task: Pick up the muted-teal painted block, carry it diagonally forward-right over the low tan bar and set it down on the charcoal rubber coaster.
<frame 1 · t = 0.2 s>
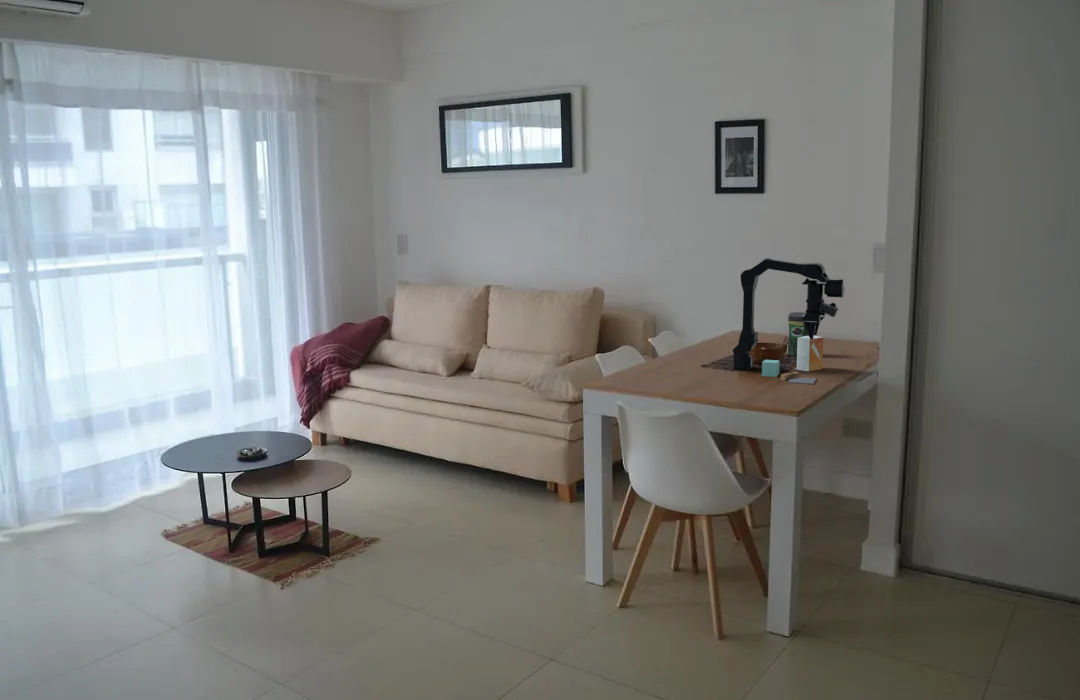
hand: (813, 337, 344), 14 cm above the table, fingers open, 9 cm apart
teal block: (770, 375, 344), on the table
coaster: (802, 381, 332), on the table
tan bar: (789, 378, 337), on the table
small box: (809, 370, 354), on the table
coffee jar: (798, 355, 384), on the table
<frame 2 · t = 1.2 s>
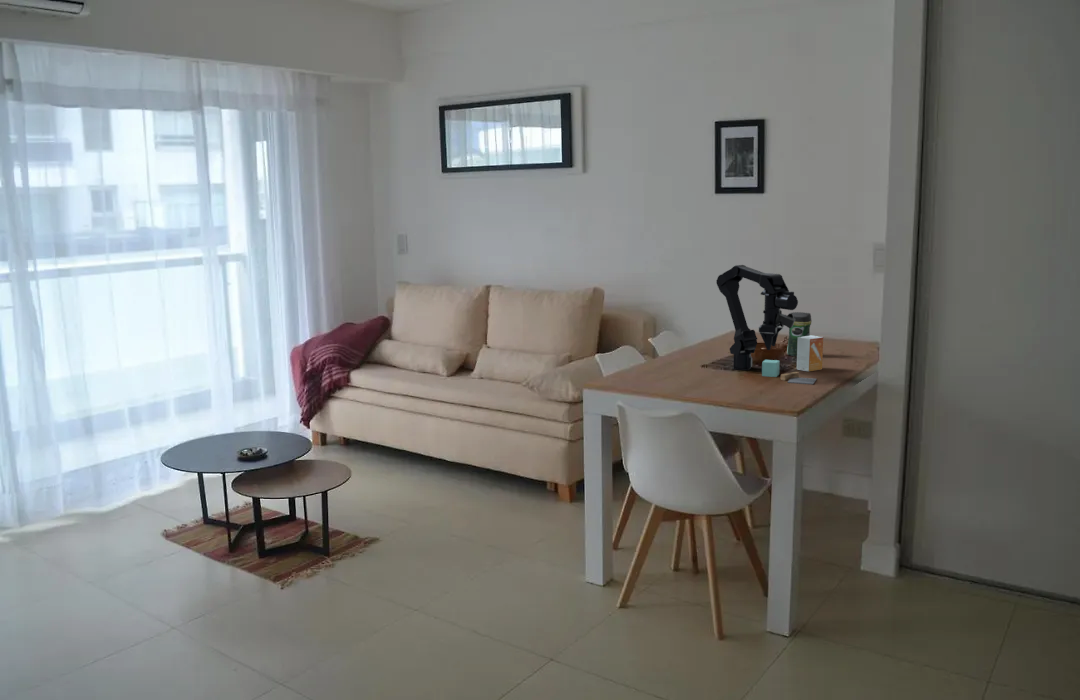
hand: (771, 348, 343), 11 cm above the table, fingers open, 9 cm apart
nothing on the table moved.
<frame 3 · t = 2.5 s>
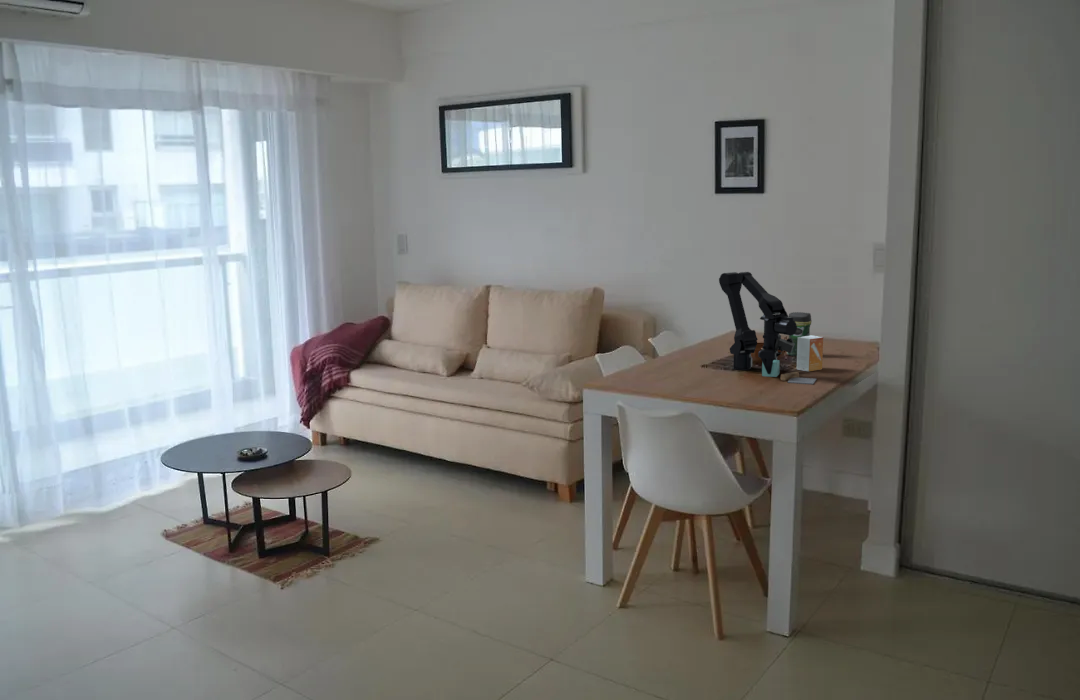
hand: (770, 372, 344), 1 cm above the table, fingers closed on teal block, 5 cm apart
teal block: (770, 375, 344), on the table, touching gripper
everything else where it was.
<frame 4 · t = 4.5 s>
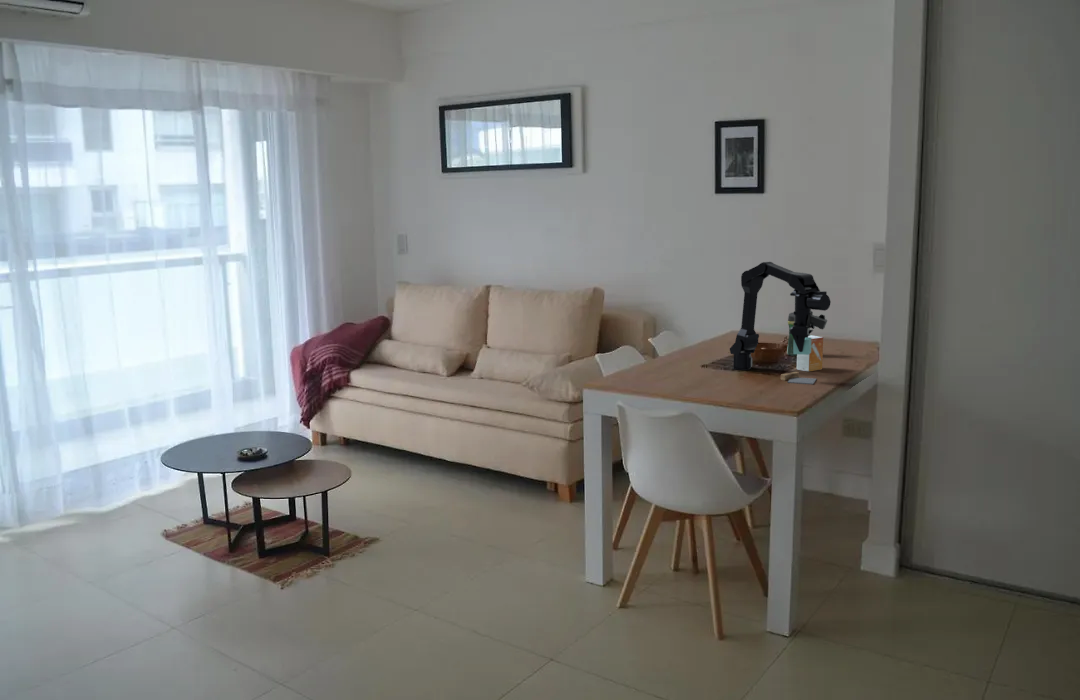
hand: (802, 350, 331), 11 cm above the table, fingers closed on teal block, 5 cm apart
teal block: (802, 353, 331), point 11 cm above the table, touching gripper
everything else where it was.
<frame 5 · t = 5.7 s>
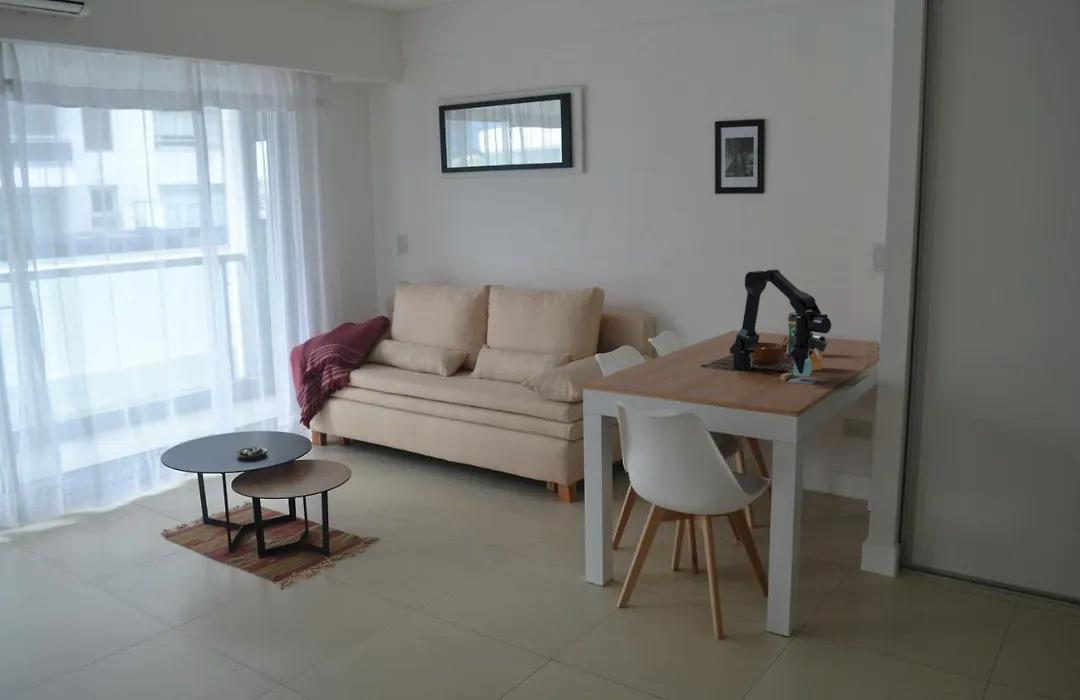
hand: (802, 371, 332), 4 cm above the table, fingers closed on teal block, 5 cm apart
teal block: (802, 374, 332), point 3 cm above the table, touching gripper
everything else where it was.
when the fingers open (3 cm above the table, at t = 6.6 s): teal block drops 2 cm, resting on coaster.
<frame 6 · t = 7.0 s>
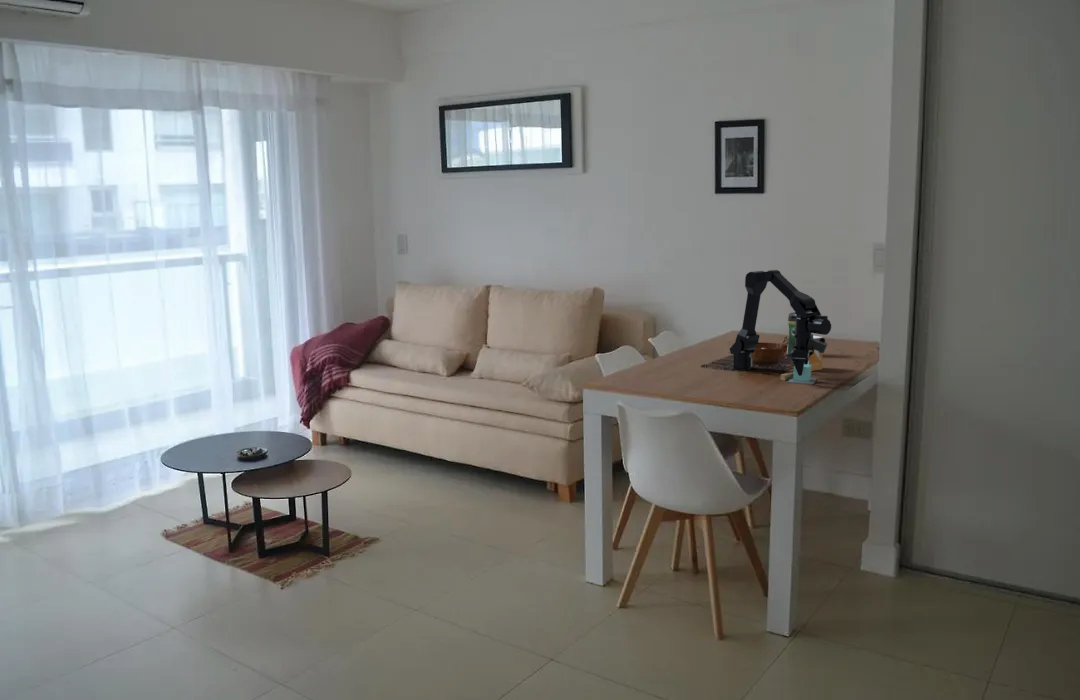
hand: (802, 373, 332), 3 cm above the table, fingers open, 9 cm apart
teal block: (802, 380, 332), resting on coaster
everything else where it was.
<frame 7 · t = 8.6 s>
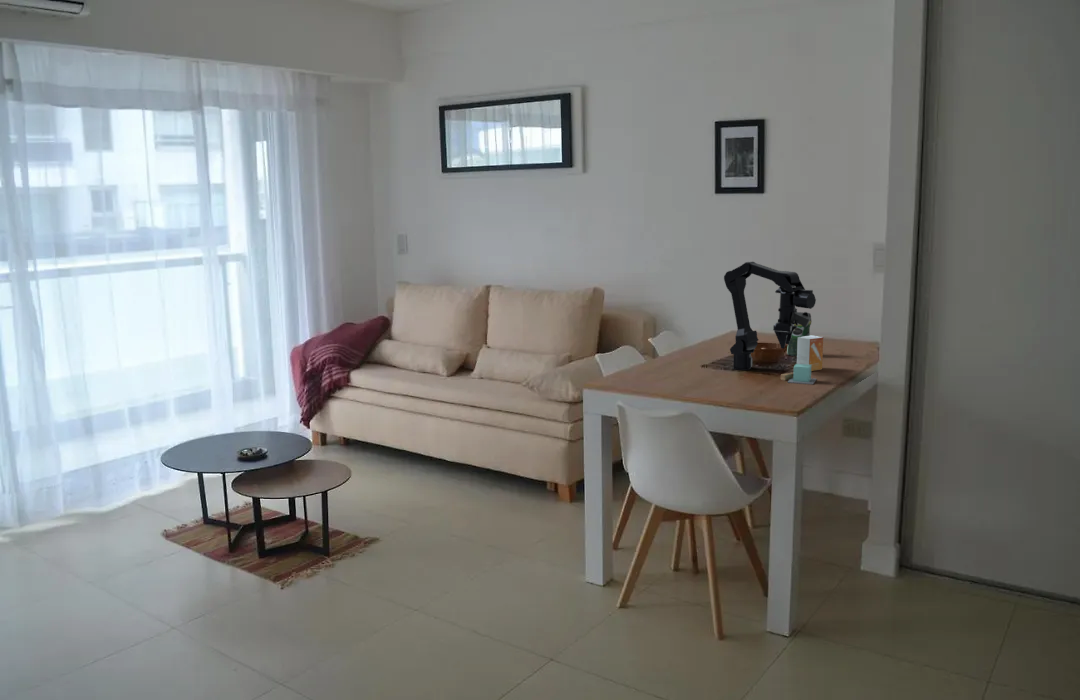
hand: (785, 346, 341), 11 cm above the table, fingers open, 9 cm apart
nothing on the table moved.
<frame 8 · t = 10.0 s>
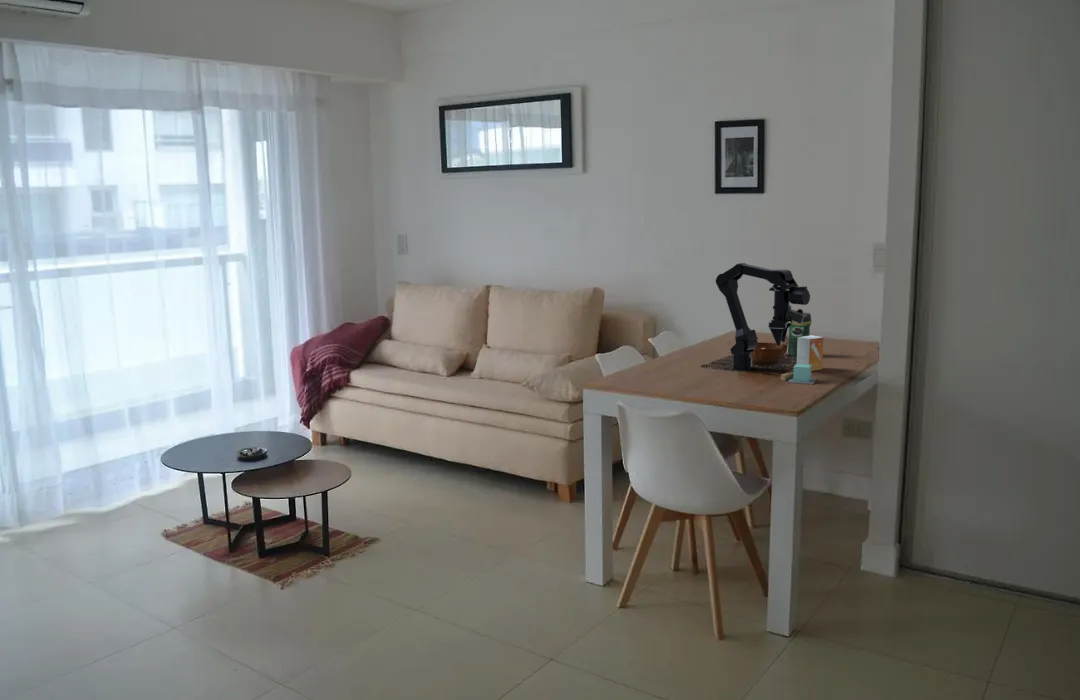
hand: (780, 343, 344), 12 cm above the table, fingers open, 9 cm apart
nothing on the table moved.
at the end: teal block inside the target area on the coaster (0.0 cm from its centre), point 0.4 cm above the coaster's base; teal block tilted 0°; the gripper is holding nothing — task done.
